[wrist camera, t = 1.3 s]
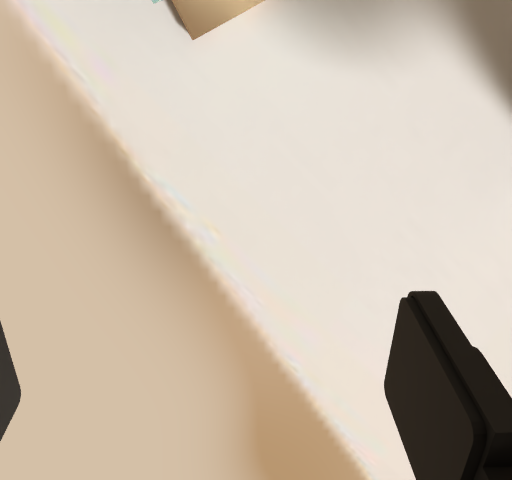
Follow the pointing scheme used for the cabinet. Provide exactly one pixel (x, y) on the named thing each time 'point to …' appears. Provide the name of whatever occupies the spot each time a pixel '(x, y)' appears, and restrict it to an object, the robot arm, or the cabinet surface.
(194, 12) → the board
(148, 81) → the cabinet surface
